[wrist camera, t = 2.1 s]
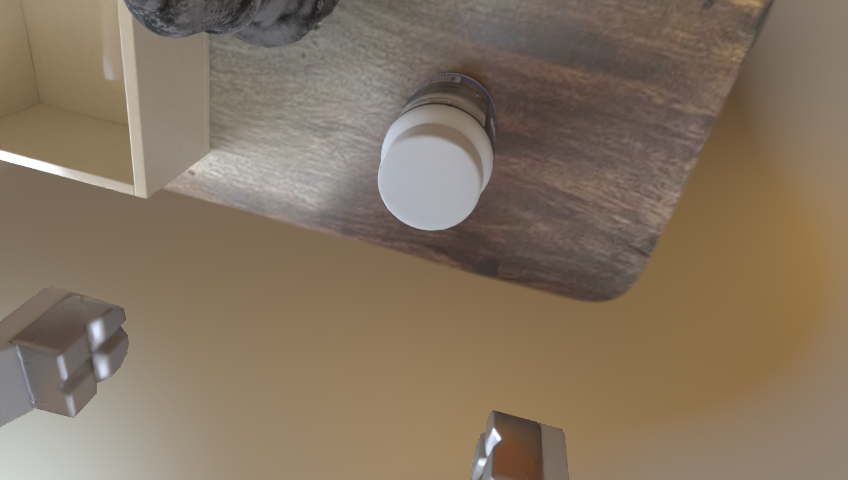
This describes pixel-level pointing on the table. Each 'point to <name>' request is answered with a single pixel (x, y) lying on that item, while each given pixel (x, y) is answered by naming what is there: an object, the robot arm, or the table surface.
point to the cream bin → (101, 94)
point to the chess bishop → (233, 18)
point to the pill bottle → (439, 152)
